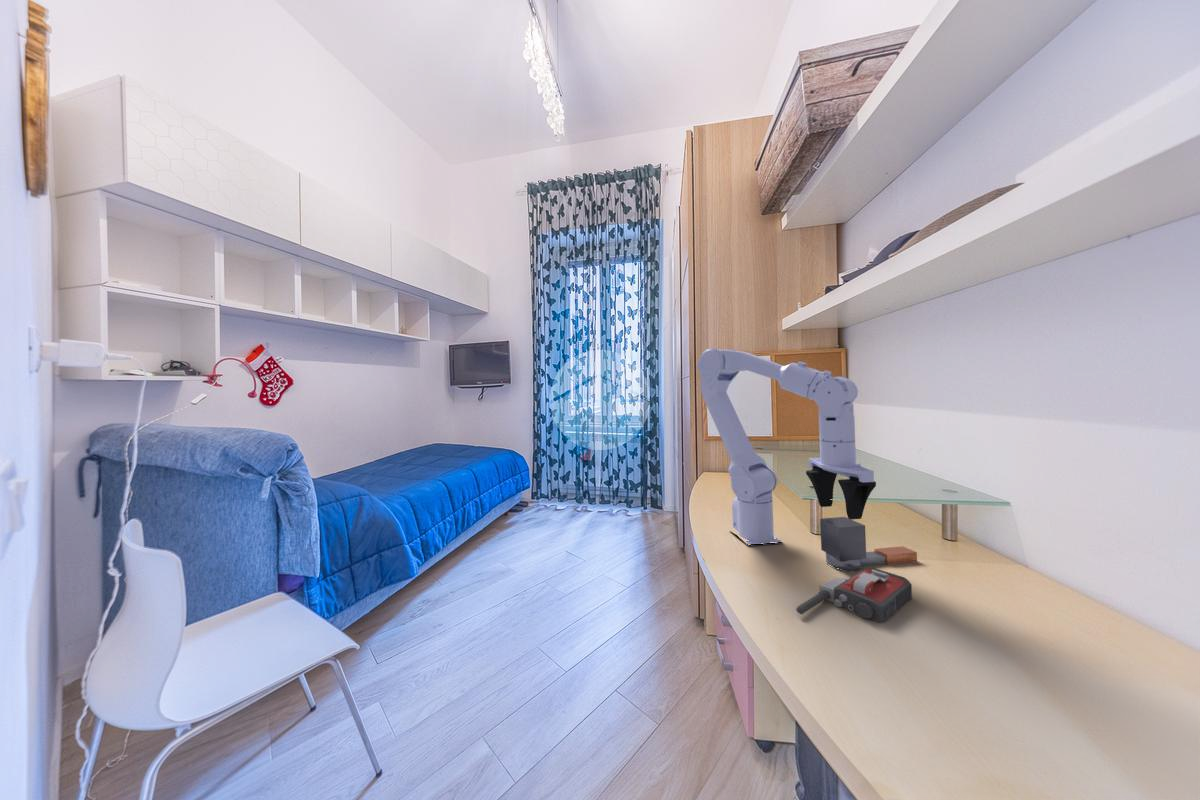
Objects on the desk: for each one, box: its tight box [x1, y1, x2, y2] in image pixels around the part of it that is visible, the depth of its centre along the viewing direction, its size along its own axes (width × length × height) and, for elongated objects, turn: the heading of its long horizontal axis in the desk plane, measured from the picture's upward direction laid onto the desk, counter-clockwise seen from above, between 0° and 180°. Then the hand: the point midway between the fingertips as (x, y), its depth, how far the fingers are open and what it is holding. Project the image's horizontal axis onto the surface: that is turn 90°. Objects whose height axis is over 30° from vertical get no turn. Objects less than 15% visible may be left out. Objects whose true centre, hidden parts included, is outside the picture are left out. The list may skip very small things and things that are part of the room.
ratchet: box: [825, 546, 918, 572], centre depth 70 cm, size 16×6×5 cm, turn 95°
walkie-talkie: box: [796, 567, 913, 624], centre depth 57 cm, size 9×4×20 cm
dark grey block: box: [819, 516, 867, 561], centre depth 70 cm, size 5×5×6 cm
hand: (839, 512), depth 71 cm, fingers open, 7 cm apart
